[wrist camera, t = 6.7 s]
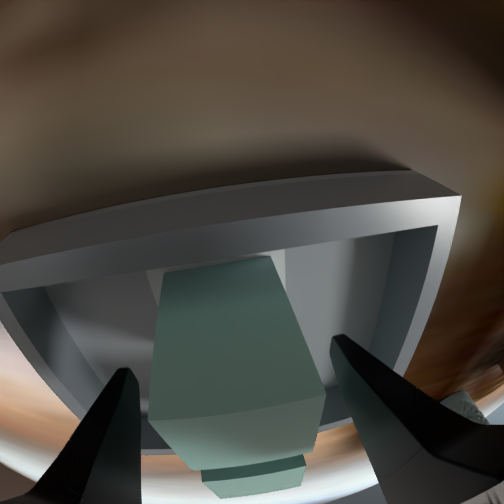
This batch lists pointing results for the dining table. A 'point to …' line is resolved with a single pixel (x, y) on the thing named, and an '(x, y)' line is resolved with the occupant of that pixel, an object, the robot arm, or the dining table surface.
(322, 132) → the dining table surface
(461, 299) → the dining table surface
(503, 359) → the food container
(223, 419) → the block
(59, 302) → the tray
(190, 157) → the dining table surface
